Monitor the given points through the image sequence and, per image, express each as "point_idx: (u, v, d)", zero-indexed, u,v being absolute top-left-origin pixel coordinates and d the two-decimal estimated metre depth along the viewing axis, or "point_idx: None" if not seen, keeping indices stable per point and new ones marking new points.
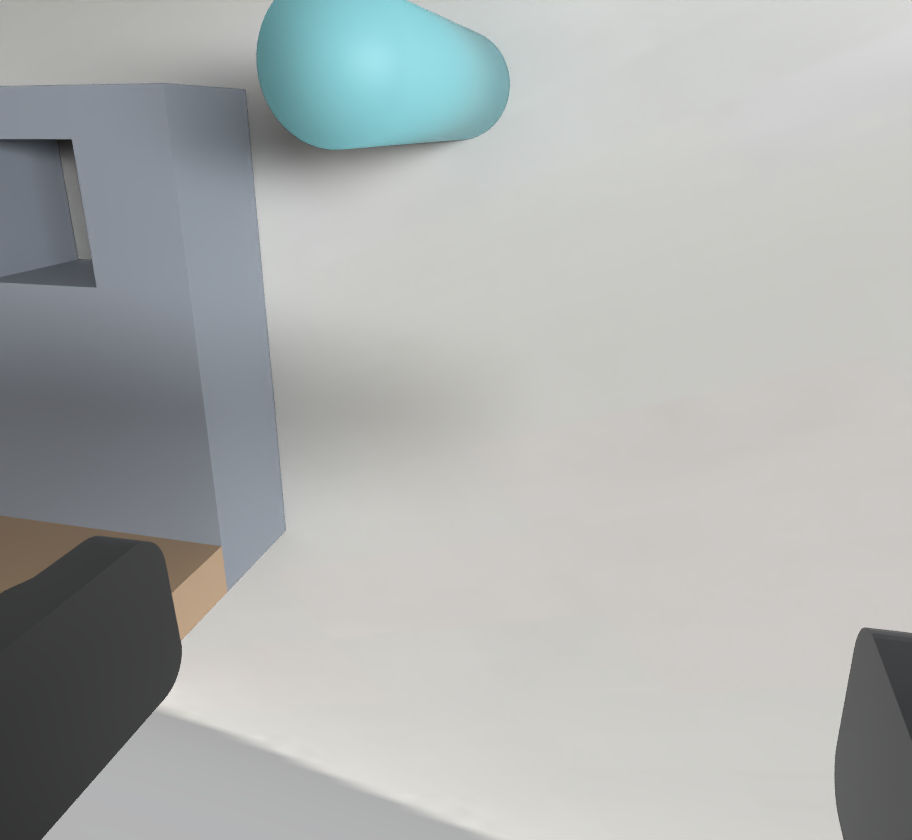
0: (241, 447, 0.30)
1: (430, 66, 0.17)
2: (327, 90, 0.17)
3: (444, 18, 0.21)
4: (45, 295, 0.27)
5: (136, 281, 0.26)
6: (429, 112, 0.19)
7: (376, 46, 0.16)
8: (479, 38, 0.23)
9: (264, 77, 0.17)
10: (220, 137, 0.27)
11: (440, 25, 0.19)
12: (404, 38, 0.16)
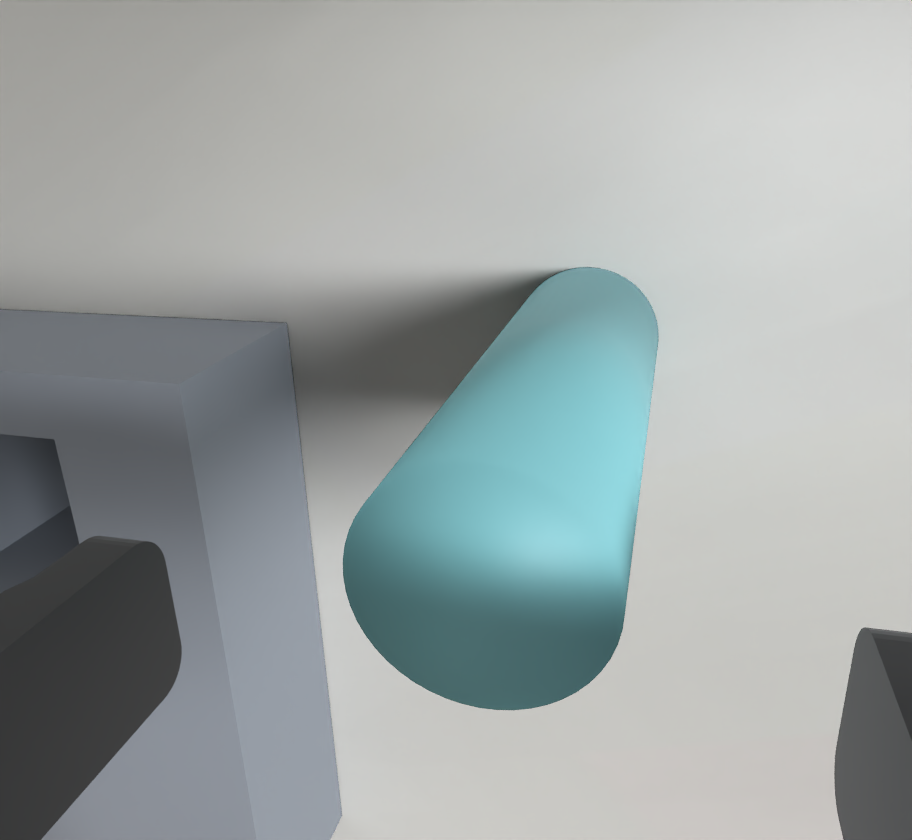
0: (289, 767, 0.23)
1: None
2: (470, 627, 0.09)
3: (605, 337, 0.14)
4: None
5: None
6: None
7: (566, 582, 0.09)
8: (633, 313, 0.16)
9: (356, 593, 0.10)
10: (256, 405, 0.20)
11: (621, 400, 0.12)
12: (621, 578, 0.09)
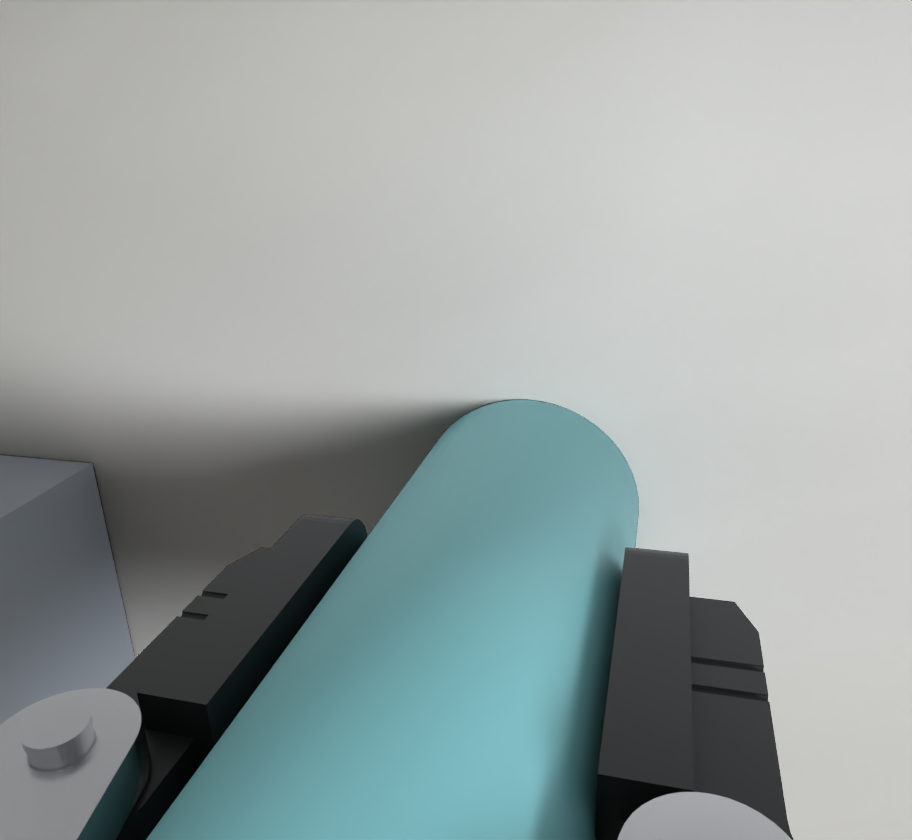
0: None
1: None
2: None
3: (524, 620, 0.07)
4: None
5: None
6: None
7: None
8: (592, 507, 0.09)
9: None
10: (28, 600, 0.13)
11: None
12: None
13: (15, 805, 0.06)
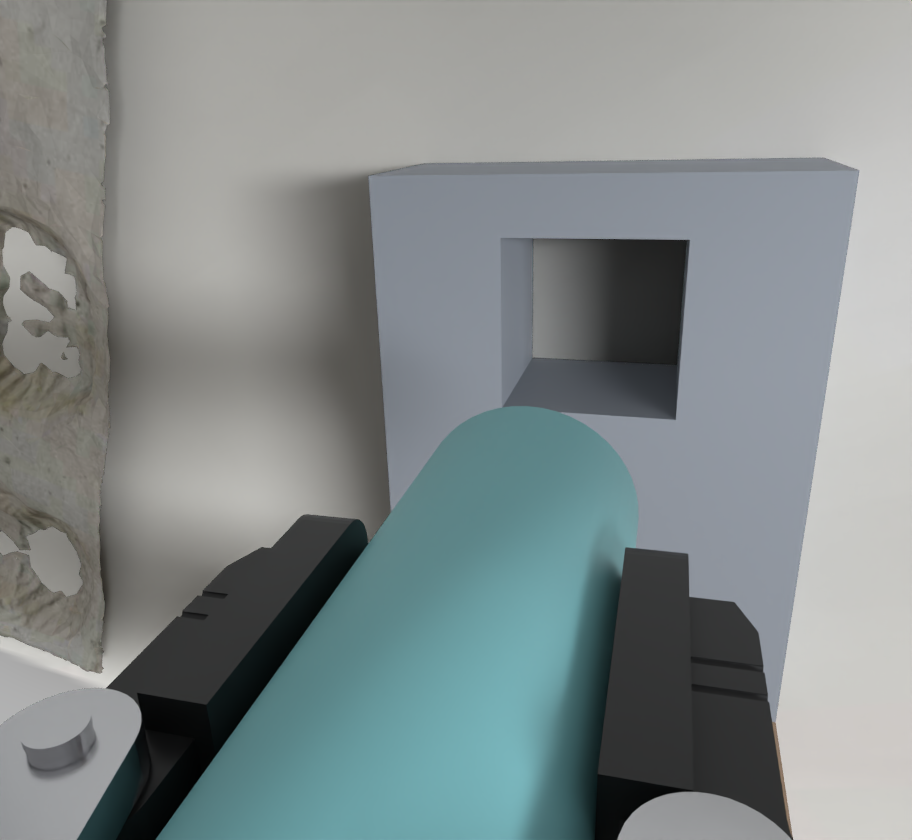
0: None
1: None
2: None
3: (524, 628, 0.07)
4: (594, 426, 0.22)
5: (740, 414, 0.21)
6: None
7: None
8: (592, 514, 0.09)
9: None
10: None
11: None
12: None
13: (14, 807, 0.06)
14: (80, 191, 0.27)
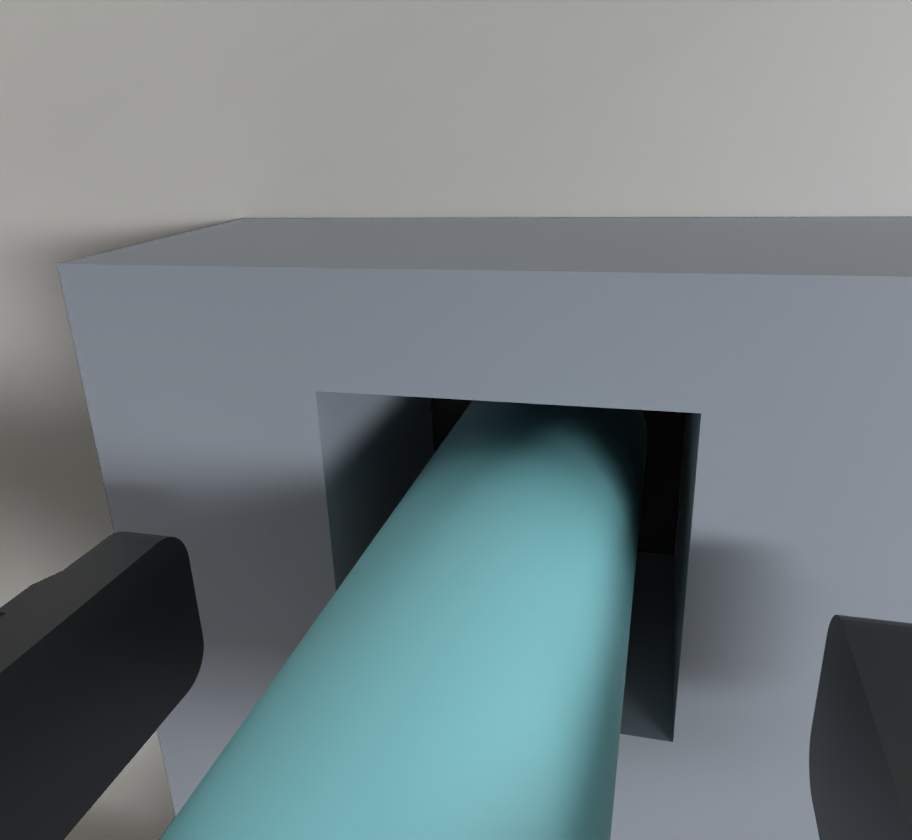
0: None
1: None
2: None
3: (569, 484, 0.10)
4: None
5: (803, 745, 0.10)
6: None
7: None
8: (612, 424, 0.12)
9: None
10: None
11: (588, 609, 0.08)
12: None
13: None
14: None
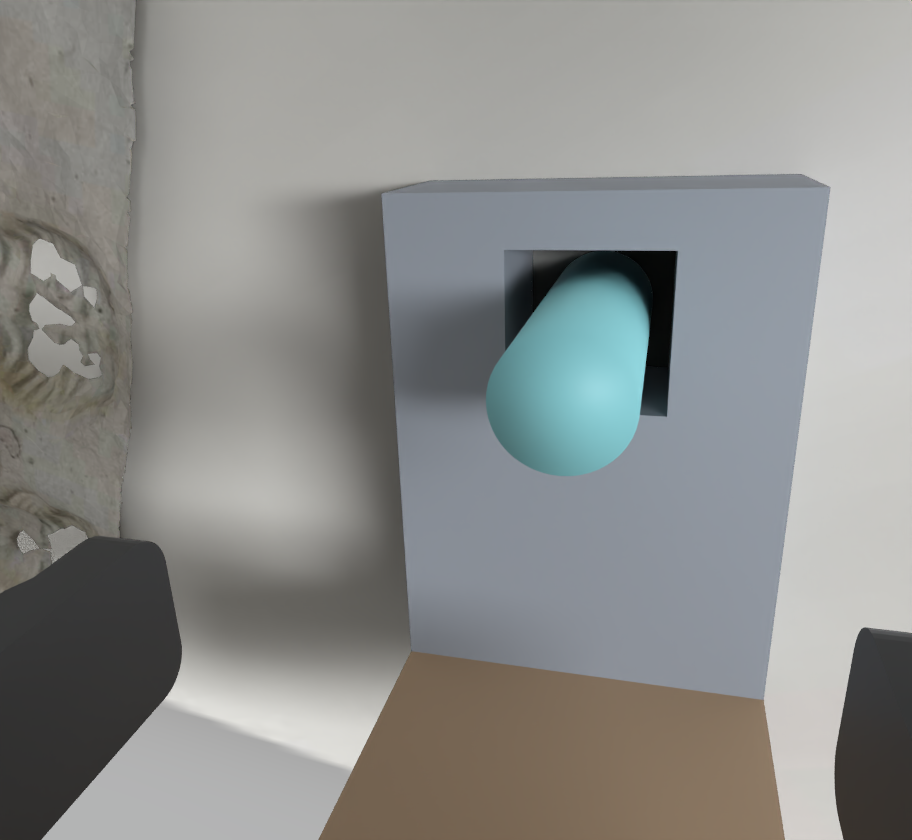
0: None
1: None
2: (556, 427, 0.17)
3: (620, 287, 0.22)
4: None
5: (726, 410, 0.22)
6: None
7: (609, 395, 0.17)
8: (636, 278, 0.24)
9: (492, 412, 0.18)
10: None
11: (632, 318, 0.20)
12: (638, 390, 0.17)
13: None
14: (106, 203, 0.29)
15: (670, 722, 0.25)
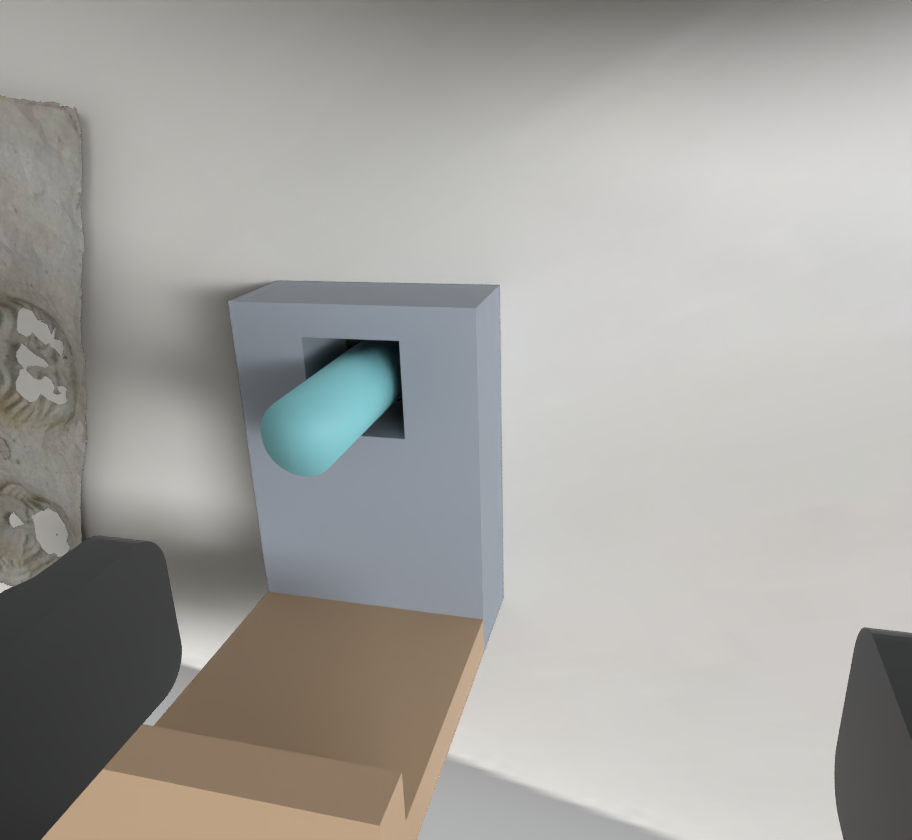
0: (491, 544, 0.40)
1: (354, 424, 0.32)
2: (298, 449, 0.32)
3: (369, 361, 0.36)
4: (362, 443, 0.38)
5: (437, 435, 0.36)
6: (356, 438, 0.34)
7: (322, 432, 0.31)
8: (396, 350, 0.38)
9: (265, 440, 0.32)
10: (491, 327, 0.37)
11: (363, 383, 0.34)
12: (336, 430, 0.31)
13: None
14: (66, 290, 0.43)
15: (418, 631, 0.39)
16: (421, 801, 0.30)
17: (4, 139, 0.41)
